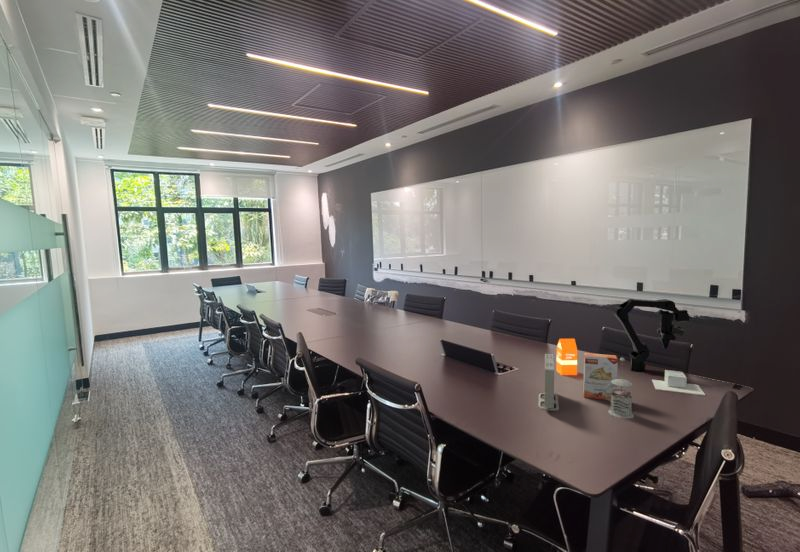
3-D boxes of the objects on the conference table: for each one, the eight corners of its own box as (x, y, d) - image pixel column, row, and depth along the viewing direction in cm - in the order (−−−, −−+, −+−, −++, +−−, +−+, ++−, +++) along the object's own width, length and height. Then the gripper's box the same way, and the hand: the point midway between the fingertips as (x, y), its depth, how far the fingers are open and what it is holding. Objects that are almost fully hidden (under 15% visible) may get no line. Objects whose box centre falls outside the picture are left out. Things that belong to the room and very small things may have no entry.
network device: (559, 414, 171) (559, 370, 169) (538, 411, 174) (538, 368, 172) (557, 393, 195) (557, 353, 193) (538, 391, 198) (539, 352, 196)
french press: (633, 420, 164) (635, 362, 162) (602, 414, 170) (603, 358, 168) (634, 411, 172) (635, 356, 170) (604, 406, 178) (605, 352, 176)
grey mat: (656, 389, 196) (656, 388, 196) (651, 380, 209) (651, 379, 209) (705, 395, 187) (705, 394, 187) (697, 385, 200) (697, 384, 200)
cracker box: (583, 397, 188) (584, 355, 186) (583, 393, 194) (583, 352, 192) (616, 401, 183) (617, 358, 181) (614, 396, 188) (616, 354, 187)
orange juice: (577, 375, 220) (577, 340, 218) (561, 375, 220) (561, 340, 218) (571, 370, 228) (571, 336, 226) (556, 370, 228) (556, 337, 226)
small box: (664, 379, 208) (667, 386, 199) (664, 369, 208) (667, 375, 198) (682, 382, 205) (686, 388, 195) (682, 371, 204) (687, 377, 195)
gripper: (687, 326, 209) (686, 354, 211) (680, 319, 226) (679, 345, 227) (663, 324, 214) (662, 352, 215) (657, 318, 231) (656, 344, 232)
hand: (665, 348), depth 222 cm, fingers closed
